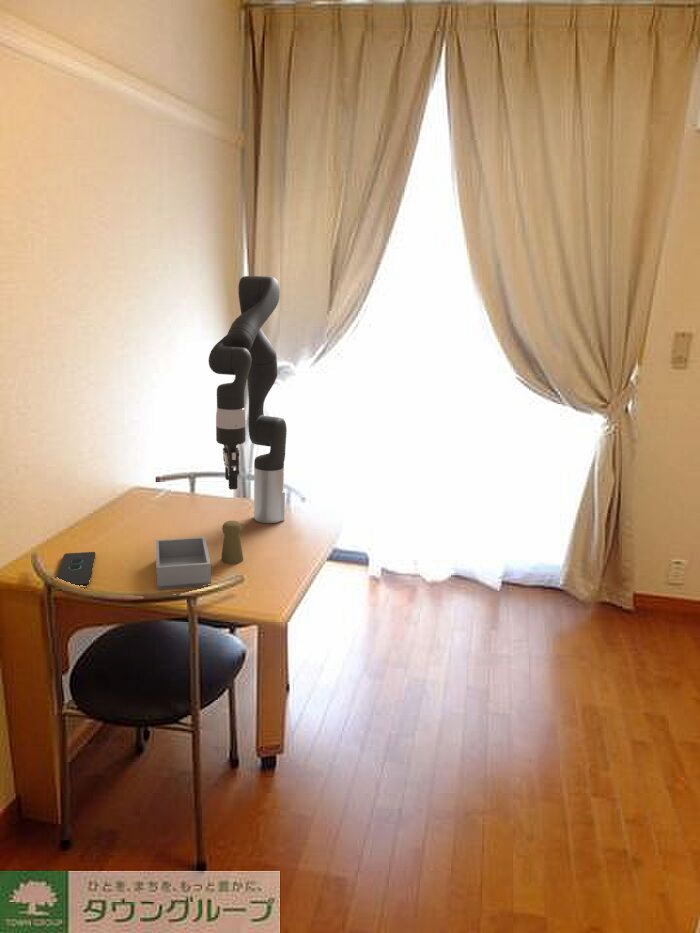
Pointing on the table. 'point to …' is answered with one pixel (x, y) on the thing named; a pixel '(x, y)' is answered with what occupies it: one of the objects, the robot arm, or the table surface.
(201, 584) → the box
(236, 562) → the olive pawn
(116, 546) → the table surface
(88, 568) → the smart home device
